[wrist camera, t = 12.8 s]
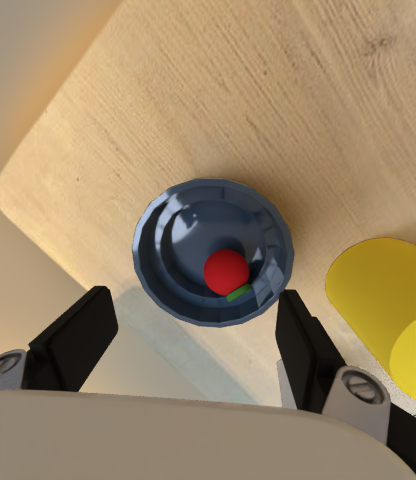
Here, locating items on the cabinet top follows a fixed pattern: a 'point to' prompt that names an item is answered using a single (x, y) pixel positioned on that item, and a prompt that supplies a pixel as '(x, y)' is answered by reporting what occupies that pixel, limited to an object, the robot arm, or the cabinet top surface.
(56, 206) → the cabinet top surface
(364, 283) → the yellow toilet paper roll
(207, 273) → the toy tomato
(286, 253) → the bowl
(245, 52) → the cabinet top surface
